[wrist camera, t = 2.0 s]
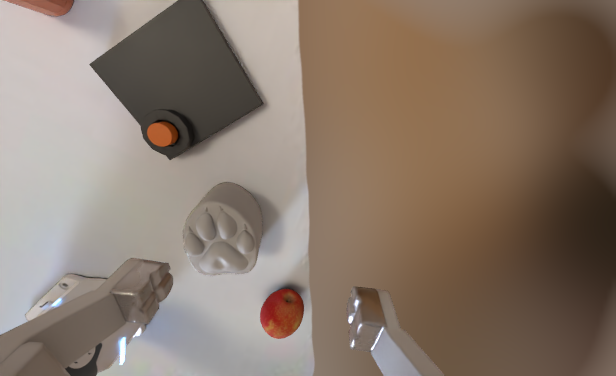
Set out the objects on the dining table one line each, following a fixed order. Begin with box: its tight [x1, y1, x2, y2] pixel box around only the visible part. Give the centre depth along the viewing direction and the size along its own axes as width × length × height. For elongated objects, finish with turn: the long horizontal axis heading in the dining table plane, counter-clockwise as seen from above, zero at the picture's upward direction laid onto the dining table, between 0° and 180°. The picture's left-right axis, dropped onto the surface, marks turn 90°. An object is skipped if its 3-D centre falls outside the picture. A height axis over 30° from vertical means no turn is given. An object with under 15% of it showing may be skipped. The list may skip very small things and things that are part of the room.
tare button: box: [147, 122, 178, 147], centre depth 29 cm, size 3×3×2 cm
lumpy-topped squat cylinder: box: [183, 182, 263, 276], centre depth 34 cm, size 10×13×9 cm
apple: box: [260, 289, 304, 339], centre depth 43 cm, size 8×8×8 cm
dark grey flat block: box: [89, 0, 263, 160], centre depth 29 cm, size 16×14×4 cm
